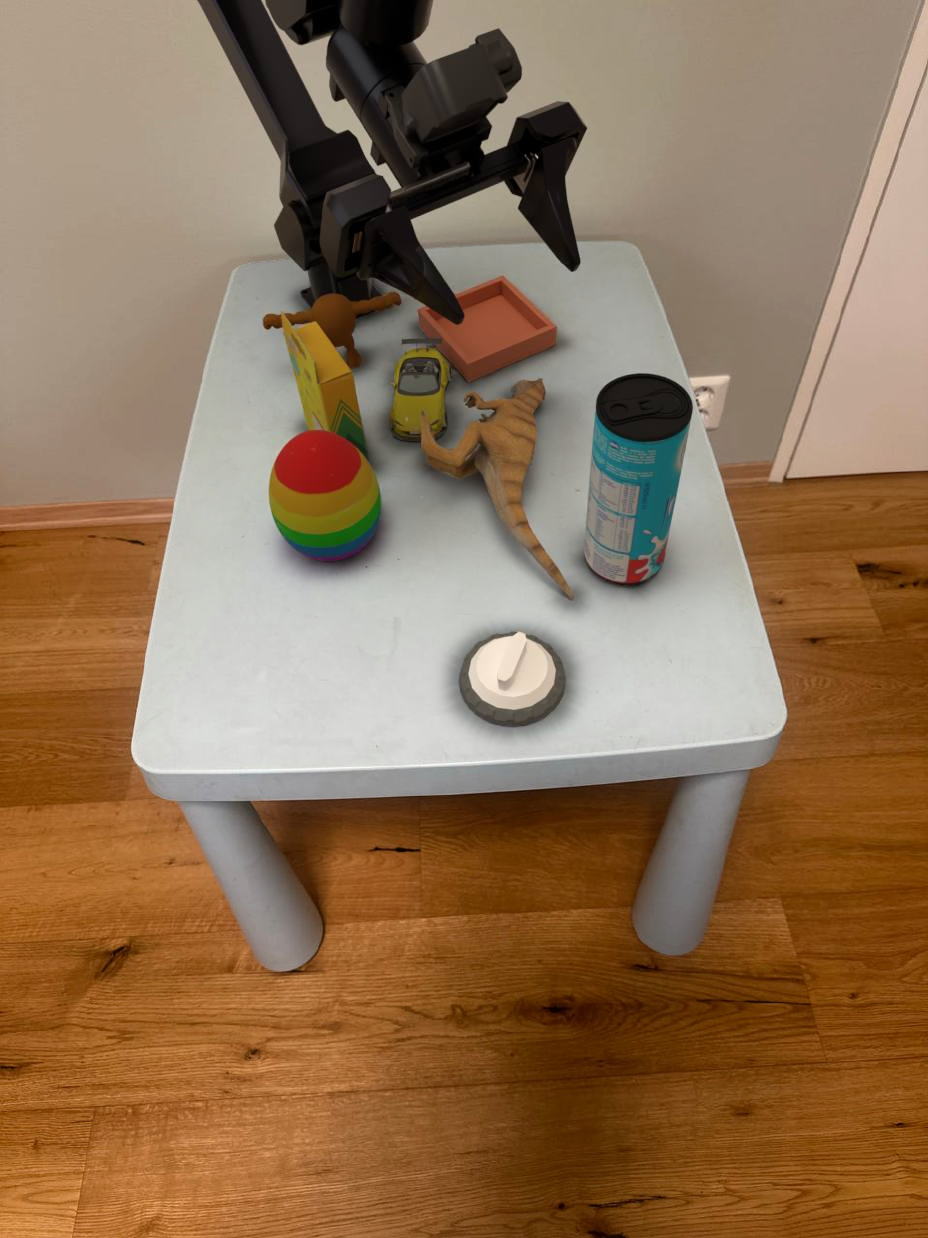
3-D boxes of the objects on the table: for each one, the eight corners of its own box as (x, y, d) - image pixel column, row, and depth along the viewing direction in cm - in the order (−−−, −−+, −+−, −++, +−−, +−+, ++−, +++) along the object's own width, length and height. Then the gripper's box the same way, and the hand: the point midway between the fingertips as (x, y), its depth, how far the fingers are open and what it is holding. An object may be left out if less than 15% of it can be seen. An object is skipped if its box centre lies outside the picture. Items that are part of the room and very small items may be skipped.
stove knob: (442, 707, 63) (440, 684, 60) (481, 624, 67) (479, 599, 64) (546, 739, 61) (547, 717, 59) (579, 652, 65) (581, 628, 63)
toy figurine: (404, 338, 86) (395, 273, 80) (411, 363, 84) (403, 298, 78) (275, 361, 85) (257, 297, 79) (279, 388, 83) (261, 324, 77)
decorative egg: (286, 584, 70) (254, 492, 62) (278, 505, 74) (248, 410, 66) (393, 564, 70) (376, 471, 62) (379, 487, 75) (361, 391, 67)
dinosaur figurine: (437, 391, 81) (573, 394, 80) (411, 596, 69) (572, 602, 68) (433, 327, 76) (579, 330, 75) (403, 537, 63) (579, 543, 62)
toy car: (387, 442, 78) (382, 415, 75) (396, 364, 84) (393, 336, 81) (447, 442, 78) (444, 414, 75) (452, 363, 83) (450, 335, 81)
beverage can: (668, 588, 68) (699, 436, 55) (586, 590, 68) (599, 439, 56) (658, 526, 71) (686, 370, 59) (581, 529, 71) (592, 373, 59)
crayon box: (372, 467, 76) (350, 352, 67) (339, 480, 76) (312, 366, 66) (337, 413, 80) (312, 297, 71) (305, 426, 80) (276, 310, 70)
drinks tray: (419, 327, 87) (417, 308, 85) (503, 293, 89) (503, 274, 87) (468, 382, 82) (467, 364, 80) (556, 344, 84) (557, 326, 82)
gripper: (274, 44, 51) (418, 276, 50) (546, -47, 57) (683, 160, 56) (272, 178, 62) (391, 373, 61) (502, 91, 67) (615, 268, 66)
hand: (520, 293), depth 61 cm, fingers open, 9 cm apart
